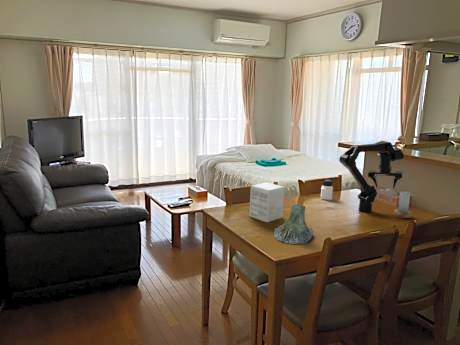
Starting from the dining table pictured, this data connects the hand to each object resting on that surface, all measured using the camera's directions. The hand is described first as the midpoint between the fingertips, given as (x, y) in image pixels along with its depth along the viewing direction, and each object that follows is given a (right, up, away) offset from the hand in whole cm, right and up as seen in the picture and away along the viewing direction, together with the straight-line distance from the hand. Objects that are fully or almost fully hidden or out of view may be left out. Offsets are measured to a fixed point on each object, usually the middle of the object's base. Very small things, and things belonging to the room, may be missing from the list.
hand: (385, 188), depth 220 cm
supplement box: (-73, -15, -18) cm, 77 cm away
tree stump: (-63, -21, -44) cm, 79 cm away
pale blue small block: (+6, -13, -10) cm, 17 cm away
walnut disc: (+6, -16, -9) cm, 19 cm away
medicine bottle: (-29, -8, +24) cm, 38 cm away
